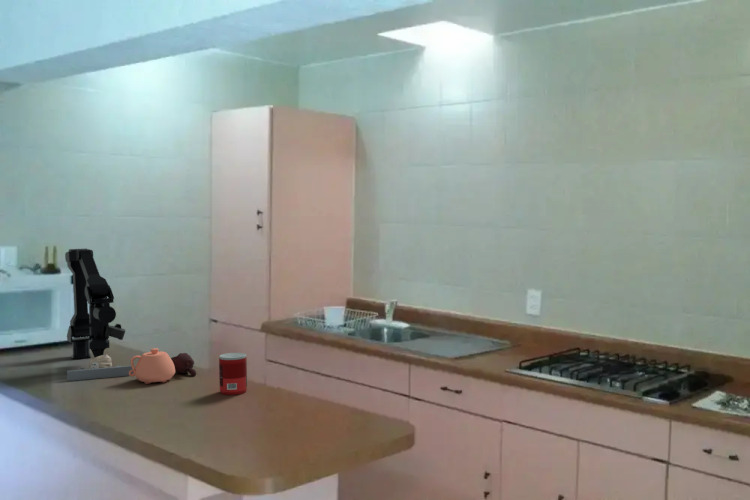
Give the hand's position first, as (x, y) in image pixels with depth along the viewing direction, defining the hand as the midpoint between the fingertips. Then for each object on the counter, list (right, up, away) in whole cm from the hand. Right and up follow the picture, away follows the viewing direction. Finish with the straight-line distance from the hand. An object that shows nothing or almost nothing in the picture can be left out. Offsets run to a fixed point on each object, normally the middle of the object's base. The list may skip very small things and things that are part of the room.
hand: (99, 364), depth 249 cm
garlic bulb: (+4, -2, -9) cm, 10 cm away
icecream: (+30, -2, -8) cm, 32 cm away
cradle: (+5, -2, -11) cm, 12 cm away
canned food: (+52, -3, -33) cm, 62 cm away
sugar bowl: (+24, -2, -18) cm, 30 cm away
